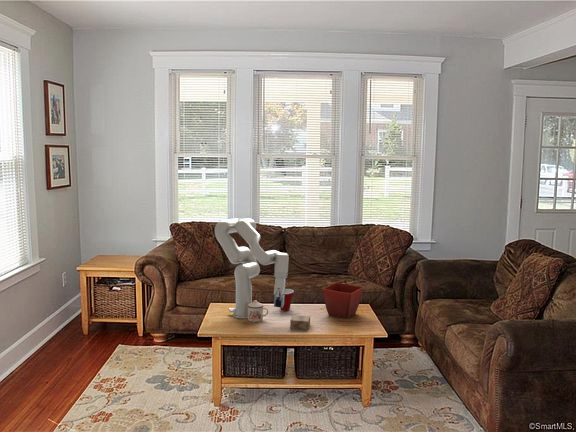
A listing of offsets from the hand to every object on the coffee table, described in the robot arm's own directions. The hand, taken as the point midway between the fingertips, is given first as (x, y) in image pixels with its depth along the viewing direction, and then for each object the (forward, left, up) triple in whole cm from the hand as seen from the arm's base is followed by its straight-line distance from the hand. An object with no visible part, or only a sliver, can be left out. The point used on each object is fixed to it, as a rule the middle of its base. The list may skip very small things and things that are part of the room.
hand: (278, 305), depth 308 cm
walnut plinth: (+13, -3, -11) cm, 17 cm away
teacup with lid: (-13, +4, -11) cm, 17 cm away
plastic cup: (-1, +29, -11) cm, 31 cm away
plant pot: (+35, +26, -11) cm, 45 cm away
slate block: (0, 0, -1) cm, 1 cm away
